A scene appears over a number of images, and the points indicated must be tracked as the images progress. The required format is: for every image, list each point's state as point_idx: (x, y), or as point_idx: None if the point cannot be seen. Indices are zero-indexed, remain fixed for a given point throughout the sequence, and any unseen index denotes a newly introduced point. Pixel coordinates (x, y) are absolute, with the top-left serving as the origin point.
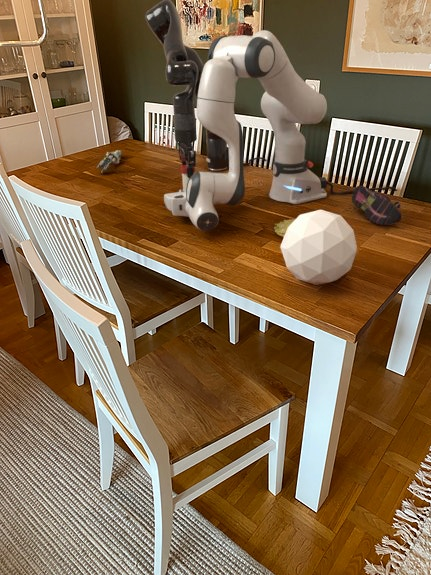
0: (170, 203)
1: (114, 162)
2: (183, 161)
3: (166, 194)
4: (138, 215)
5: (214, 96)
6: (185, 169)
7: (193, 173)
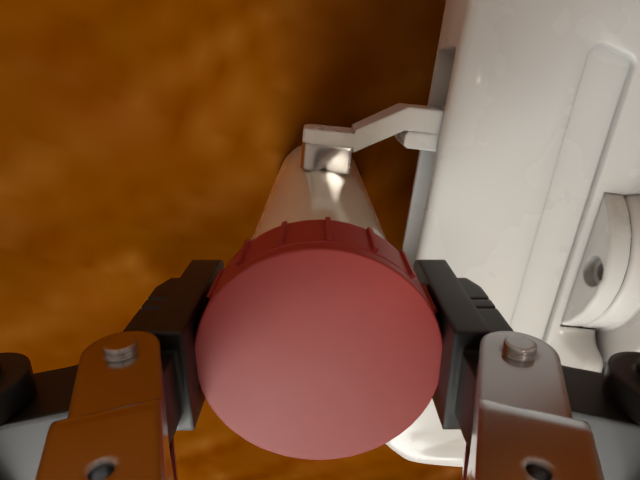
0: None
1: None
2: (173, 439)
3: (421, 450)
4: (299, 465)
5: None
6: (414, 415)
7: (456, 278)
